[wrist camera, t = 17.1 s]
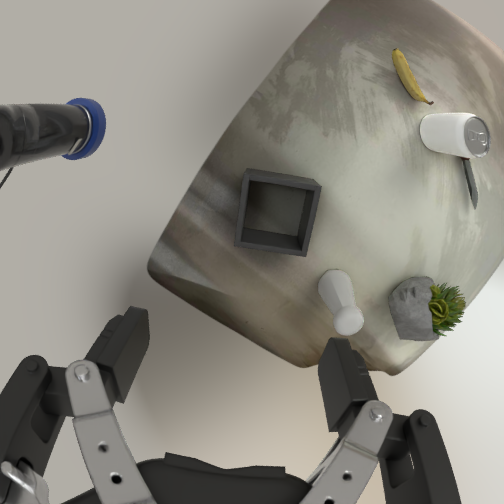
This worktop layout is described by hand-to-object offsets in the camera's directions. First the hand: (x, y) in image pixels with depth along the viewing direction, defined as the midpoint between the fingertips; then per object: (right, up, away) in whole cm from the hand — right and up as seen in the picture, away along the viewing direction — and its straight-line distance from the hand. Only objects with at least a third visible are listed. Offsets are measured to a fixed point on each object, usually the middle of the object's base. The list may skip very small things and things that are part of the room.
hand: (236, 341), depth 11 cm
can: (+31, +24, +24) cm, 45 cm away
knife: (+38, +20, +25) cm, 50 cm away
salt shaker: (+14, -1, +35) cm, 38 cm away
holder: (+4, +11, +30) cm, 32 cm away
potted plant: (+32, -4, +35) cm, 48 cm away
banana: (+25, +31, +21) cm, 45 cm away
